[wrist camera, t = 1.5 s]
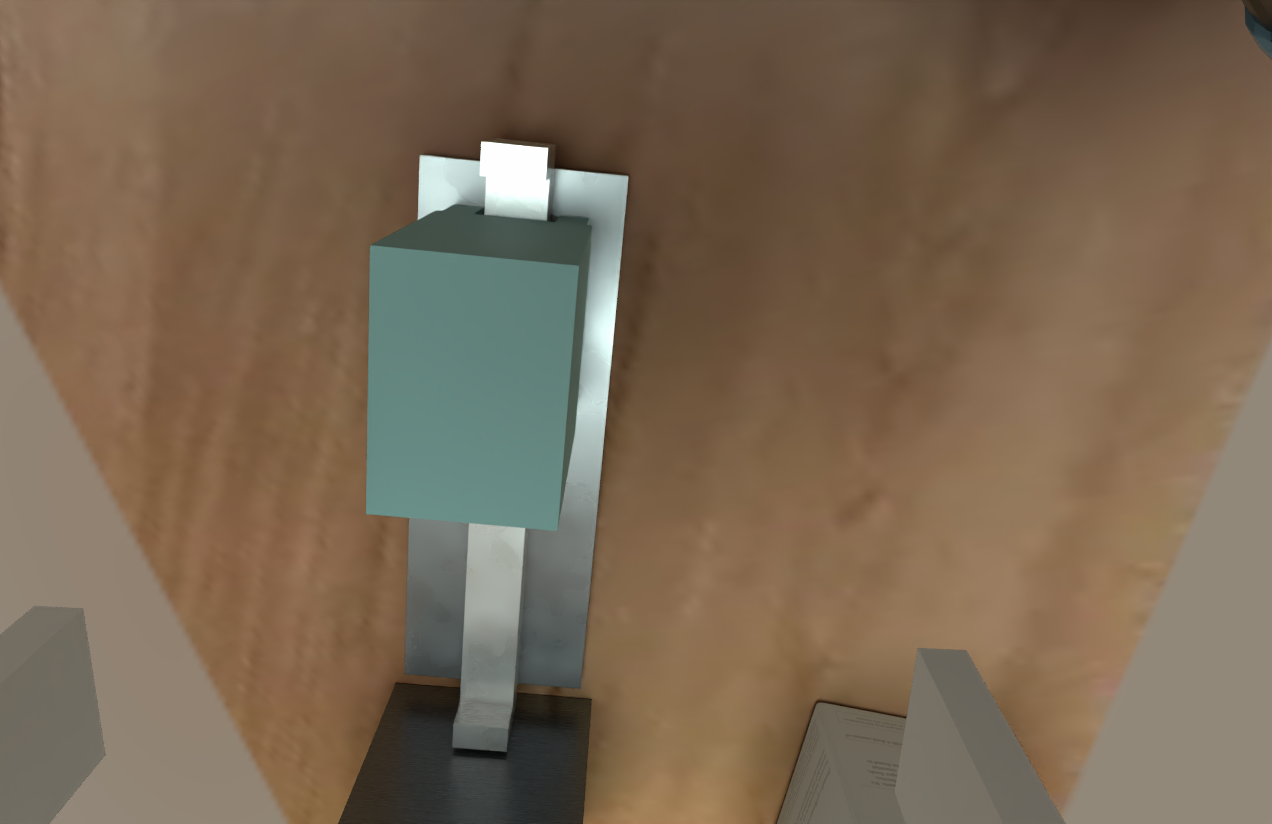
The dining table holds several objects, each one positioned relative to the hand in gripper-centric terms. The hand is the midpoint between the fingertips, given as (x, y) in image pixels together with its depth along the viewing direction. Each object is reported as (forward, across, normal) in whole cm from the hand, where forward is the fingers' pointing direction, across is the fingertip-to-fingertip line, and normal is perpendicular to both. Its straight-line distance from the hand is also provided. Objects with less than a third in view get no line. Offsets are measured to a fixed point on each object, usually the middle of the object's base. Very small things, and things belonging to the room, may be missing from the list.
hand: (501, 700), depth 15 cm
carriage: (+21, -2, +2) cm, 21 cm away
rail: (+21, -3, -3) cm, 21 cm away
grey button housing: (+21, -3, -17) cm, 27 cm away
